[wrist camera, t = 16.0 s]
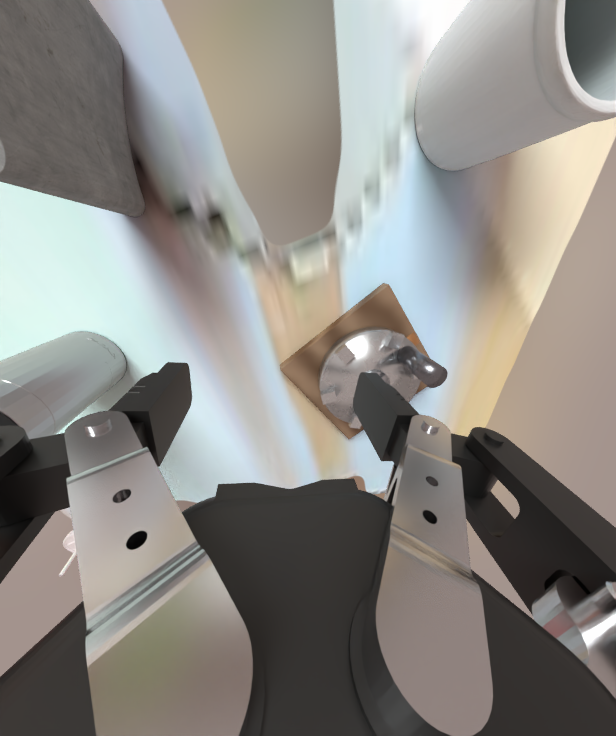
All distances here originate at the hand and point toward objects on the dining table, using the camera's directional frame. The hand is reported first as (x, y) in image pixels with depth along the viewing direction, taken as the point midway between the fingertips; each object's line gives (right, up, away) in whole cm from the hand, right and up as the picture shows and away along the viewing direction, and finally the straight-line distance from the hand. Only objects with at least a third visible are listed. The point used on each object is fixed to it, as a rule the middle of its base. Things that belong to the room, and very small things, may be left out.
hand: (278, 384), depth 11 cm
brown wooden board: (+12, +1, +33) cm, 35 cm away
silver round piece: (+12, 0, +31) cm, 33 cm away
